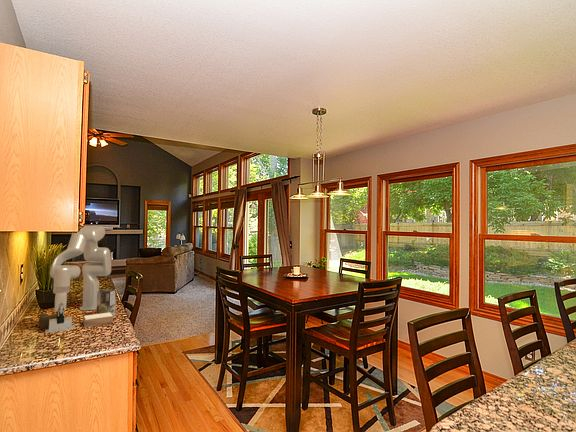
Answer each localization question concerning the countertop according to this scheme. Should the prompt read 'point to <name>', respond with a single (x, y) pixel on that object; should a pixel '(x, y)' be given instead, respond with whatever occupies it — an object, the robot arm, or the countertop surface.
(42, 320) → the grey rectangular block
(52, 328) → the housing
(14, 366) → the countertop surface
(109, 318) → the stand
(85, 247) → the robot arm
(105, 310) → the coffee box
